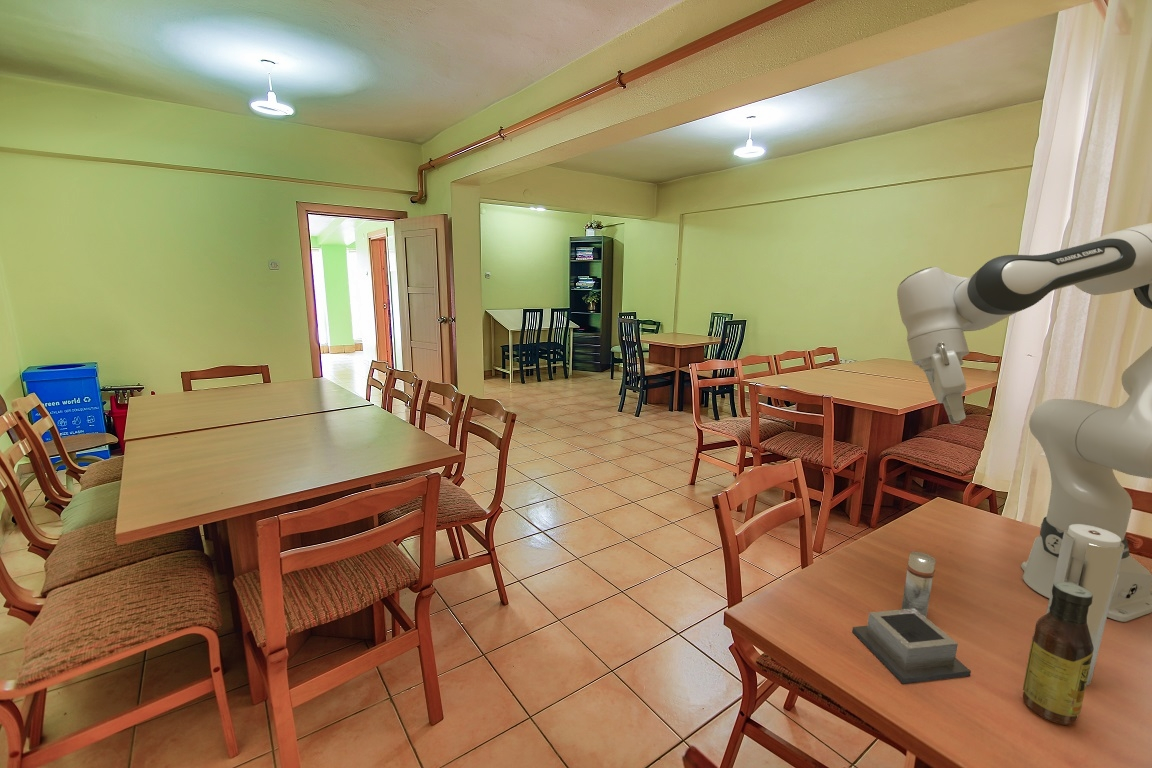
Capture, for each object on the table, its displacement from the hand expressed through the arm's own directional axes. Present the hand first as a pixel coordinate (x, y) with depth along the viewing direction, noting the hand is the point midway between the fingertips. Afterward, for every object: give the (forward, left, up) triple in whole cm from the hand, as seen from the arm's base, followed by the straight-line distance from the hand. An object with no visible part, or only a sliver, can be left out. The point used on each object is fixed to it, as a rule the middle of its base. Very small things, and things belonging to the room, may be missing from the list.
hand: (958, 421), depth 91 cm
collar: (+16, +13, -37) cm, 42 cm away
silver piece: (-6, +20, -37) cm, 43 cm away
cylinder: (+7, +4, -37) cm, 38 cm away
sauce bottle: (+4, +26, -37) cm, 45 cm away
